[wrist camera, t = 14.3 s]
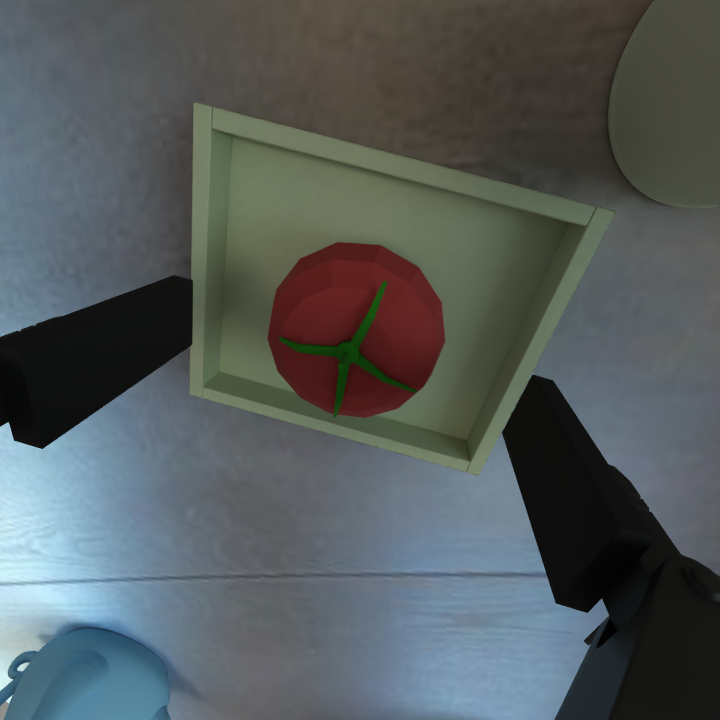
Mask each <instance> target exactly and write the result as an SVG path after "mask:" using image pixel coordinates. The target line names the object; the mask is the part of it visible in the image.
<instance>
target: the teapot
mask: <svg viewBox="0 0 720 720" xmlns="http://www.w3.org/2000/svg"><path fill="white" fill-rule="evenodd" d="M26 662H30V663H29V665H28V666H27V667H26V669H25V670H24V671H23V672H21V671H17V668H18V667H19V666H20V665H21V664H23V663H26ZM8 676H9V677H10V678H11V679H14V680H13V681H12V682H10V683H9V684H8V685H7V686H6V687H5V688H4V689H2V690H1V691H0V706H1V705H2V704H3V703H4V702H5V701H6V700H7V699H8V698H9V697H11V696H12V695H13V696H12V698H11V701H10V703H9V706H8V709H7V712H6V715H5V718H4V720H171V719H170V716H169V714H168V711H167V706H168V702H169V697H170V696H169V680H168V673H167V669H166V667H165V666H164V664H163V663H162V661H161V660H160V659H159V658H158V657H157V656H156V655H155V654H154V653H152V652H151V651H150V650H149V649H147V648H146V647H144V646H143V645H141V644H139V643H137V642H135V641H133V640H132V639H129V638H127V637H125V636H122V635H120V634H117V633H114V632H110V631H106V630H102V629H95V628H82V629H77V630H74V631H72V632H70V633H67V634H65V635H62V636H60V637H58V638H56V639H54V640H52V641H50V642H49V643H47V644H46V645H45V646H43V647H42V648H41V649H40V650H39V652H37V651H27V652H24V653H22V654H20V655H19V656H17V657H16V658H15V659H14V661H13V662H12V663H11V665H10V667H9V670H8Z"/></svg>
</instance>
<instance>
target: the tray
mask: <svg viewBox="0 0 720 720" xmlns="http://www.w3.org/2000/svg"><path fill="white" fill-rule="evenodd" d="M615 213H616V212H615V211H614V210H610V209H606V208H602V207H598V206H594V205H590V204H586V203H583V202H579V201H575V200H571V199H567V198H563V197H559V196H556V195H552V194H548V193H544V192H540V191H536V190H532V189H529V188H525V187H521V186H517V185H513V184H509V183H505V182H502V181H498V180H494V179H490V178H486V177H482V176H478V175H475V174H471V173H467V172H463V171H459V170H455V169H451V168H448V167H444V166H440V165H436V164H432V163H428V162H424V161H420V160H417V159H413V158H409V157H405V156H401V155H397V154H393V153H390V152H386V151H382V150H378V149H374V148H370V147H366V146H363V145H359V144H355V143H351V142H347V141H343V140H339V139H336V138H332V137H328V136H324V135H320V134H316V133H312V132H309V131H305V130H301V129H297V128H293V127H289V126H285V125H282V124H278V123H274V122H270V121H266V120H262V119H258V118H255V117H251V116H247V115H243V114H239V113H235V112H231V111H227V110H224V109H220V108H216V107H212V106H208V105H205V104H201V103H197V102H194V107H193V179H192V251H191V280H193V334H192V345H191V346H190V395H193V396H197V397H200V398H202V397H203V398H204V399H208V400H211V401H215V402H218V403H222V404H225V405H229V406H233V407H236V408H240V409H243V410H247V411H250V412H254V413H257V414H261V415H265V416H268V417H272V418H275V419H279V420H282V421H286V422H290V423H293V424H297V425H300V426H304V427H307V428H311V429H314V430H318V431H322V432H325V433H329V434H332V435H336V436H339V437H343V438H346V439H350V440H354V441H357V442H361V443H364V444H368V445H371V446H375V447H378V448H382V449H386V450H389V451H393V452H396V453H400V454H403V455H407V456H410V457H414V458H418V459H421V460H425V461H428V462H432V463H435V464H439V465H443V466H446V467H450V468H453V469H457V470H460V471H464V472H465V471H466V472H467V473H471V474H474V475H479V474H480V472H481V470H482V468H483V466H484V464H485V462H486V461H487V459H488V457H489V455H490V453H491V451H492V449H493V447H494V445H495V443H496V441H497V439H498V438H499V436H500V434H501V432H502V430H503V428H504V426H505V424H506V422H507V420H508V418H509V416H510V414H511V413H512V411H513V409H514V407H515V405H516V403H517V401H518V399H519V397H520V395H521V393H522V391H523V390H524V388H525V386H526V384H527V382H528V380H529V378H530V376H531V374H532V372H533V370H534V368H535V366H536V365H537V363H538V361H539V359H540V357H541V355H542V353H543V351H544V349H545V347H546V345H547V343H548V342H549V340H550V338H551V336H552V334H553V332H554V330H555V328H556V326H557V324H558V322H559V320H560V318H561V317H562V315H563V313H564V311H565V309H566V307H567V305H568V303H569V301H570V299H571V297H572V295H573V294H574V292H575V290H576V288H577V286H578V284H579V282H580V280H581V278H582V276H583V274H584V272H585V270H586V269H587V267H588V265H589V263H590V261H591V259H592V257H593V255H594V253H595V251H596V249H597V247H598V246H599V244H600V242H601V240H602V238H603V236H604V234H605V232H606V230H607V228H608V226H609V224H610V222H611V221H612V219H613V217H614V215H615ZM337 242H343V243H359V244H374V245H382V246H384V247H385V248H387V249H389V250H390V251H392V252H394V253H396V254H397V255H399V256H401V257H402V258H404V259H406V260H408V261H409V262H411V263H413V264H414V265H416V266H418V267H419V268H420V270H421V271H422V273H423V274H424V276H425V277H426V279H427V280H428V282H429V283H430V285H431V287H432V288H433V290H434V291H435V293H436V294H437V296H438V297H439V299H440V300H441V302H442V310H443V321H444V332H445V344H444V346H443V348H442V351H441V353H440V355H439V358H438V360H437V363H436V365H435V367H434V370H433V372H432V375H431V376H430V378H429V379H428V381H427V383H426V384H425V386H424V387H423V388H422V389H421V390H420V391H418V392H417V393H416V394H415V395H414V396H412V397H411V398H410V399H409V400H408V401H406V402H405V403H404V404H403V405H402V406H401V407H399V408H398V409H395V410H392V411H388V412H384V413H381V414H377V415H374V416H370V417H366V418H362V417H353V416H345V415H337V417H336V418H334V417H333V415H334V414H330V413H328V412H326V411H324V410H323V409H321V408H319V407H317V406H315V405H313V404H311V403H309V402H307V401H305V400H304V399H302V398H300V397H299V396H298V395H297V393H296V392H295V391H294V390H293V389H292V388H291V386H290V385H289V384H288V383H287V382H286V381H285V379H284V378H283V377H282V376H281V375H280V374H279V373H278V371H277V368H276V365H275V362H274V358H273V355H272V352H271V349H270V345H269V342H268V339H267V338H268V332H269V326H270V319H271V313H272V307H273V302H274V298H275V293H276V289H277V288H278V286H279V285H280V284H281V283H282V281H283V280H284V279H285V277H286V276H287V275H288V273H289V272H290V271H291V270H292V268H293V267H294V266H295V264H296V263H297V262H298V260H299V259H300V258H303V257H305V256H307V255H309V254H312V253H314V252H316V251H318V250H321V249H323V248H325V247H328V246H330V245H332V244H334V243H337Z"/></svg>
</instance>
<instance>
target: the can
mask: <svg viewBox="0 0 720 720" xmlns="http://www.w3.org/2000/svg"><path fill="white" fill-rule="evenodd" d="M608 129H609V138H610V143H611V148H612V151H613V154H614V157H615V159H616V162H617V164H618V166H619V168H620V169H621V171H622V173H623V174H624V176H625V177H626V178H627V179H628V181H629V182H630V183H631V184H632V185H633V186H634V187H635V188H636V189H637V190H639V191H640V192H641V193H643V194H644V195H646V196H647V197H649V198H651V199H653V200H655V201H658V202H660V203H663V204H666V205H670V206H674V207H680V208H693V209H701V208H713V207H719V206H720V0H654V1H653V2H652V3H651V5H650V6H649V8H648V9H647V11H646V12H645V13H644V15H643V16H642V18H641V20H640V21H639V23H638V25H637V26H636V28H635V30H634V31H633V33H632V35H631V37H630V39H629V41H628V43H627V45H626V47H625V49H624V52H623V54H622V56H621V59H620V62H619V64H618V67H617V70H616V73H615V76H614V80H613V84H612V88H611V93H610V99H609V110H608Z"/></svg>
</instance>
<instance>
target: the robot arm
mask: <svg viewBox="0 0 720 720" xmlns="http://www.w3.org/2000/svg"><path fill="white" fill-rule="evenodd" d="M192 334H193V280H190V279H186V278H182V277H179V276H175V275H173V276H171V277H168V278H165V279H162V280H160V281H157V282H154V283H152V284H149V285H146V286H143V287H141V288H138V289H135V290H133V291H130V292H127V293H124V294H122V295H119V296H116V297H114V298H111V299H108V300H105V301H103V302H100V303H97V304H94V305H92V306H89V307H86V308H84V309H81V310H78V311H75V312H73V313H70V314H67V315H65V316H60V317H55V318H51V319H49V320H46V321H43V322H40V323H38V324H36V326H33V325H32V326H29V327H27V328H24V329H21V331H16V332H13V333H10V334H7V335H5V336H2V337H0V426H2V425H4V424H6V423H7V422H9V424H10V428H11V431H12V435H13V438H14V441H17V442H21V443H24V444H27V445H31V446H34V447H37V448H41V449H43V448H45V447H46V446H47V445H49V444H50V443H52V442H53V441H55V440H56V439H57V438H59V437H60V436H62V435H63V434H65V433H66V432H67V431H69V430H70V429H72V428H73V427H75V426H76V425H78V424H79V423H80V422H82V421H83V420H85V419H86V418H88V417H89V416H90V415H92V414H93V413H95V412H96V411H98V410H99V409H100V408H102V407H103V406H105V405H106V404H108V403H109V402H111V401H112V400H113V399H115V398H116V397H118V396H119V395H121V394H122V393H123V392H125V391H126V390H128V389H129V388H131V387H132V386H133V385H135V384H136V383H138V382H139V381H141V380H142V379H144V378H145V377H146V376H148V375H149V374H151V373H152V372H154V371H155V370H156V369H158V368H159V367H161V366H162V365H164V364H165V363H167V362H168V361H169V360H171V359H172V358H174V357H175V356H177V355H178V354H179V353H181V352H182V351H184V350H185V349H187V348H188V347H189V346H191V345H192ZM502 434H503V437H504V440H505V444H506V447H507V450H508V453H509V456H510V460H511V463H512V466H513V469H514V472H515V475H516V479H517V482H518V485H519V488H520V491H521V494H522V498H523V501H524V504H525V507H526V510H527V513H528V517H529V520H530V523H531V526H532V529H533V532H534V536H535V539H536V542H537V545H538V548H539V551H540V555H541V558H542V561H543V564H544V567H545V570H546V574H547V577H548V580H549V583H550V586H551V590H552V593H553V596H554V599H555V602H556V604H560V605H563V606H566V607H570V608H573V609H576V610H580V611H583V612H586V613H588V612H589V611H590V610H591V609H592V608H593V607H594V606H595V605H596V604H597V603H598V601H599V600H600V599H601V598H602V599H603V602H604V604H605V606H606V609H607V611H608V613H609V616H608V617H607V618H606V619H605V620H604V621H603V622H602V623H601V624H600V625H599V626H598V627H597V628H596V629H595V630H594V631H593V632H592V633H591V634H590V635H589V636H588V637H587V638H586V639H585V640H584V642H585V643H586V644H587V645H590V644H591V645H590V647H589V649H588V651H587V653H586V656H585V658H584V660H583V662H582V664H581V666H580V668H579V670H578V672H577V674H576V676H575V678H574V680H573V682H572V685H571V687H570V689H569V691H568V693H567V695H566V697H565V699H564V701H563V703H562V705H561V707H560V709H559V711H558V714H557V716H556V718H555V720H720V577H719V576H718V575H716V574H715V573H714V572H713V571H711V570H710V569H709V568H707V567H706V566H704V565H702V564H701V563H699V562H697V561H695V560H694V559H691V558H688V557H686V556H683V555H681V554H680V552H679V551H678V550H677V548H676V547H675V545H674V544H673V542H672V541H671V539H670V538H669V537H668V535H667V534H666V532H665V531H664V529H663V528H662V526H661V525H660V524H659V522H658V521H657V519H656V518H655V516H654V515H653V513H652V512H649V508H648V506H647V505H646V503H645V502H644V501H643V499H640V497H641V496H640V495H639V493H638V492H637V490H636V489H635V488H634V486H633V485H632V483H631V482H630V481H629V480H628V479H627V478H626V477H625V476H624V475H623V474H622V473H621V472H620V471H619V470H618V469H616V468H615V467H614V466H611V465H608V463H607V462H606V460H605V459H604V457H603V455H602V454H601V452H600V451H599V449H598V448H597V446H596V445H595V443H594V442H593V440H592V439H591V437H590V436H589V434H588V433H587V431H586V430H585V428H584V427H583V425H582V424H581V422H580V421H579V419H578V418H577V416H576V414H575V413H574V411H573V410H572V408H571V407H570V405H569V404H568V402H567V401H566V399H565V398H564V396H563V395H562V393H561V392H560V390H559V389H558V387H557V386H556V384H555V383H554V381H553V380H550V379H546V378H543V377H539V376H535V375H532V377H531V378H530V380H529V382H528V384H527V386H526V388H525V390H524V392H523V394H522V396H521V397H520V399H519V401H518V403H517V405H516V407H515V409H514V411H513V413H512V415H511V416H510V418H509V420H508V422H507V424H506V426H505V428H504V430H503V432H502Z"/></svg>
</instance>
